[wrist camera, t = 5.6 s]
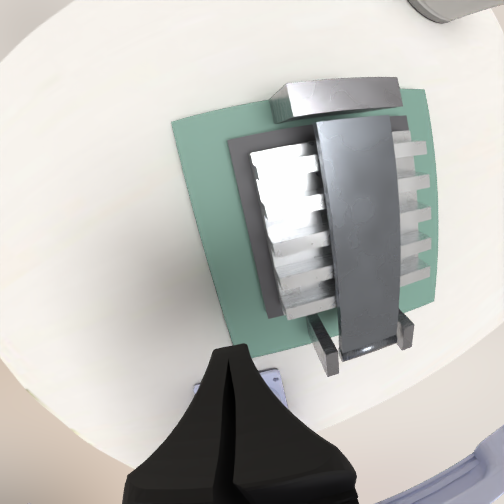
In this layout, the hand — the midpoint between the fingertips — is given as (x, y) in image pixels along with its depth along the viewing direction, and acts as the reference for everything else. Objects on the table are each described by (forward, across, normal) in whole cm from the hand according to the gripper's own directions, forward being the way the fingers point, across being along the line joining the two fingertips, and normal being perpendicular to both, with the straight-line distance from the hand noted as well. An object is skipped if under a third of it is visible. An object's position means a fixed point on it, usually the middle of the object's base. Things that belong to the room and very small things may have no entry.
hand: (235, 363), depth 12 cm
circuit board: (+10, -8, -1) cm, 13 cm away
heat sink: (+9, -8, -2) cm, 12 cm away
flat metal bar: (+5, -8, -1) cm, 9 cm away
